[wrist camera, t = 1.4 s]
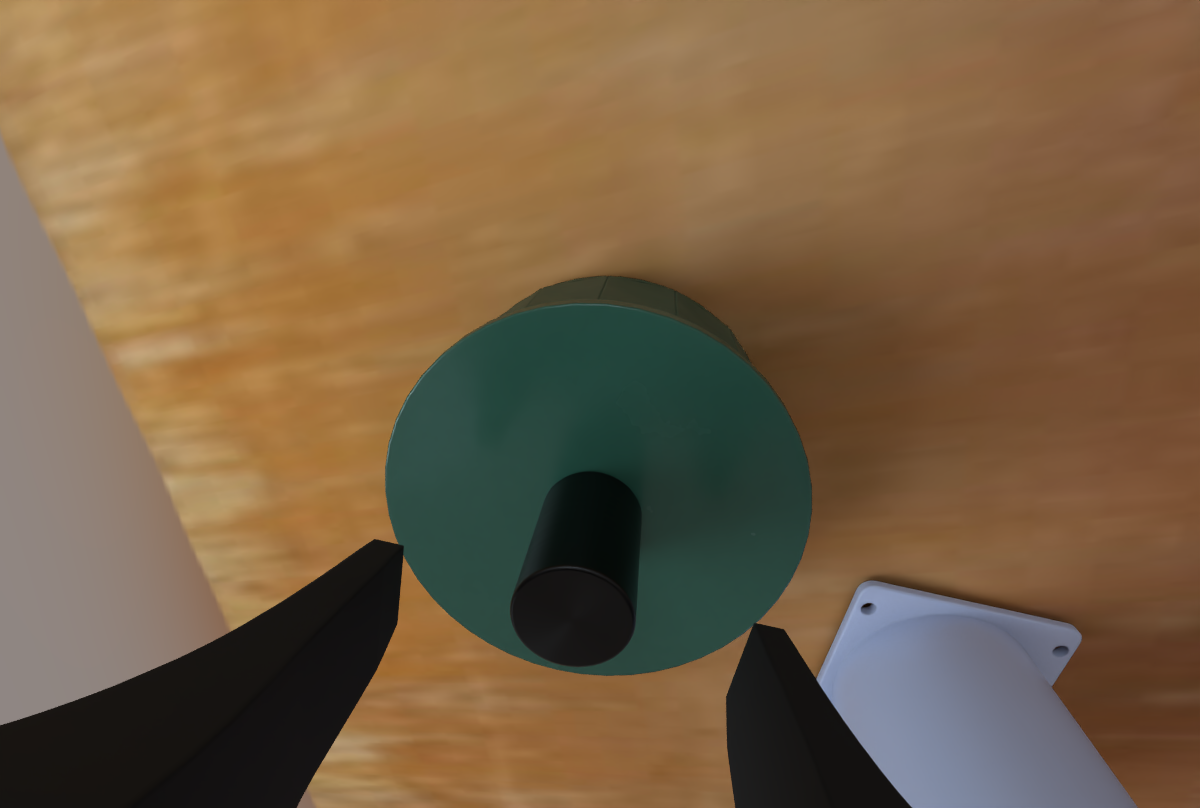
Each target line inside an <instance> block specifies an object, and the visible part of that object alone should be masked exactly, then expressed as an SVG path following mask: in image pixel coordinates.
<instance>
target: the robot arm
mask: <svg viewBox="0 0 1200 808" xmlns="http://www.w3.org/2000/svg"><path fill="white" fill-rule="evenodd" d="M403 552H404V546H403V545H399V544H394V543H390V542H385V541H381V540H376V539H374V540H373V541H371V542H369V543H368V544H366V545H365V546H363V547H362V548H360V549H359V550H358V551H356V552H355V553H353V554H352V555H350V556H349V557H348V558H346V559H345V560H343V561H342V562H341V563H339V564H338V565H336V566H335V567H333V568H332V569H330V570H329V571H328V572H326V573H325V574H323V575H322V576H320V577H319V578H317V579H316V580H314V581H313V582H311V583H310V584H308V585H307V586H305V587H304V588H302V589H301V590H299V591H298V592H296V593H295V594H293V595H291V596H290V597H288V598H287V599H285V600H284V601H282V602H280V603H279V604H277V605H276V606H274V607H272V608H271V609H269V610H267V611H265V612H264V613H262V614H260V615H259V616H257V617H255V618H254V619H252V620H250V621H249V622H247V623H245V624H244V625H242V626H240V627H238V628H237V629H235V630H233V631H231V632H229V633H228V634H226V635H224V636H222V637H220V638H218V639H216V640H214V641H213V642H211V643H209V644H207V645H205V646H203V647H201V648H198V649H196V650H194V651H193V652H190V653H188V654H187V655H184V656H182V657H180V658H178V659H176V660H174V661H171V662H169V663H166V664H164V665H162V666H159V667H157V668H155V669H153V670H150V671H148V672H146V673H143V674H141V675H139V676H136V677H134V678H132V679H129V680H127V681H125V682H122V683H120V684H118V685H115V686H113V687H110V688H108V689H105V690H102V691H100V692H97V693H94V694H92V695H89V696H86V697H84V698H81V699H78V700H76V701H73V702H70V703H67V704H64V705H61V706H58V707H56V708H53V709H50V710H47V711H44V712H41V713H38V714H35V715H32V716H29V717H26V718H23V719H20V720H17V721H13V722H10V723H7V724H3V725H0V808H297V806H298V803H299V802H300V799H301V798H302V796H303V794H304V792H305V791H306V789H307V787H308V785H309V783H310V781H311V780H312V778H313V776H314V774H315V773H316V771H317V769H318V768H319V766H320V764H321V763H322V761H323V759H324V758H325V756H326V754H327V753H328V751H329V749H330V748H331V746H332V744H333V743H334V741H335V739H336V738H337V736H338V734H339V733H340V731H341V729H342V728H343V726H344V724H345V723H346V721H347V719H348V718H349V716H350V714H351V713H352V711H353V709H354V708H355V706H356V704H357V702H358V701H359V699H360V697H361V696H362V694H363V692H364V691H365V689H366V687H367V686H368V684H369V682H370V680H371V679H372V677H373V675H374V674H375V672H376V670H377V668H378V666H379V664H380V661H381V659H382V657H383V655H384V653H385V651H386V648H387V646H388V644H389V641H390V639H391V637H392V635H393V632H394V630H395V628H396V625H397V621H398V610H399V598H400V587H401V575H402V563H403ZM866 603H872V604H871V605H870V606H868V607H862V606H863V605H864V604H866ZM1081 640H1082V636H1081V634H1080V633H1079V631H1078V630H1077V629H1076V628H1075V627H1074V626H1073V625H1071V624H1069V623H1065V622H1060V621H1056V620H1051V619H1047V618H1042V617H1038V616H1033V615H1029V614H1024V613H1020V612H1015V611H1011V610H1006V609H1001V608H997V607H992V606H988V605H983V604H979V603H974V602H970V601H965V600H961V599H956V598H952V597H947V596H943V595H938V594H934V593H929V592H924V591H920V590H915V589H911V588H906V587H902V586H897V585H893V584H888V583H884V582H879V581H872V580H870V581H866V582H863V583H862V584H860V585H859V587H858V588H857V590H856V592H855V594H854V596H853V599H852V601H851V603H850V605H849V608H848V610H847V612H846V614H845V616H844V619H843V621H842V623H841V625H840V628H839V630H838V632H837V634H836V637H835V639H834V641H833V643H832V645H831V648H830V650H829V652H828V654H827V657H826V659H825V661H824V663H823V665H822V668H821V670H820V672H819V674H818V677H817V679H816V678H815V677H814V675H813V674H812V672H811V671H810V669H809V668H808V666H807V664H806V663H805V661H804V660H803V658H802V657H801V655H800V653H799V652H798V650H797V649H796V647H795V646H794V644H793V642H792V641H791V639H790V638H789V636H788V635H787V633H786V632H785V630H784V629H780V628H775V627H771V626H766V625H762V624H757V623H754V625H753V627H752V630H751V632H750V635H749V638H748V640H747V643H746V646H745V648H744V651H743V654H742V656H741V659H740V662H739V664H738V667H737V669H736V672H735V675H734V677H733V680H732V683H731V685H730V688H729V691H728V693H727V696H726V718H727V750H728V758H729V765H730V773H731V780H732V787H733V794H734V801H735V808H1138V807H1137V805H1136V804H1135V803H1134V801H1133V800H1132V798H1131V797H1130V796H1129V794H1128V793H1127V791H1126V790H1125V789H1124V787H1123V786H1122V784H1121V783H1120V782H1119V780H1118V779H1117V778H1116V776H1115V775H1114V773H1113V772H1112V771H1111V769H1110V768H1109V766H1108V765H1107V764H1106V762H1105V761H1104V759H1103V758H1102V757H1101V755H1100V754H1099V752H1098V751H1097V750H1096V748H1095V747H1094V745H1093V744H1092V743H1091V741H1090V740H1089V739H1088V737H1087V736H1086V734H1085V733H1084V732H1083V730H1082V729H1081V727H1080V726H1079V725H1078V723H1077V722H1076V720H1075V719H1074V718H1073V716H1072V715H1071V713H1070V712H1069V711H1068V709H1067V708H1066V706H1065V705H1064V704H1063V702H1062V701H1061V700H1060V698H1059V697H1058V695H1057V694H1056V693H1055V691H1054V690H1053V688H1052V686H1053V684H1054V683H1055V681H1056V680H1057V678H1058V676H1059V675H1060V673H1061V672H1062V670H1063V669H1064V667H1065V666H1066V664H1067V663H1068V661H1069V660H1070V658H1071V657H1072V655H1073V654H1074V652H1075V650H1076V649H1077V647H1078V646H1079V644H1080V643H1081ZM1058 646H1060V647H1059V648H1056V647H1058ZM1055 648H1056V649H1055Z"/></svg>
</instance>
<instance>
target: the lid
mask: <svg viewBox="0 0 1200 808" xmlns="http://www.w3.org/2000/svg"><path fill="white" fill-rule="evenodd" d="M385 486H386V498H387V505H388V511H389V516H390V520H391V523H392V526H393V530H394V533H395V537H396V539H397V541H398V544H399V545H403V546H404V552H403V555H404V557H405V559H406V561H407V562H408V564H409V566H410V567H411V569H412V571H413V572H414V574H415V576H416V577H417V579H418V580H419V581H420V583H421V584H422V585H423V587H424V588H425V589H426V590H427V592H428V593H429V594H430V595H431V597H432V598H433V599H434V600H435V601H436V602H437V603H438V604H439V605H440V606H441V607H442V608H443V609H444V610H445V611H446V612H447V613H448V614H449V615H450V616H451V617H453V618H454V619H455V620H456V621H457V622H459V623H460V624H461V625H462V626H464V627H465V628H466V629H467V630H469V631H470V632H472V633H473V634H475V635H477V636H478V637H480V638H481V639H483V640H484V641H486V642H487V643H489V644H491V645H493V646H495V647H497V648H499V649H501V650H503V651H505V652H507V653H509V654H511V655H513V656H516V657H519V658H521V659H524V660H526V661H529V662H531V663H534V664H538V665H542V666H545V667H549V668H552V669H556V670H561V671H567V672H573V673H579V674H589V675H603V676H614V675H634V674H642V673H649V672H656V671H660V670H664V669H668V668H673V667H677V666H680V665H683V664H686V663H688V662H691V661H694V660H697V659H699V658H702V657H704V656H706V655H708V654H710V653H712V652H714V651H716V650H718V649H720V648H722V647H724V646H725V645H727V644H728V643H730V642H731V641H733V640H735V639H736V638H738V637H739V636H741V635H742V634H743V633H745V632H746V631H747V630H748V629H749V628H751V627H752V626H753V625H754V623H756V622H758V621H759V620H760V619H761V618H762V617H763V616H764V615H765V614H766V613H767V611H768V610H769V609H770V608H771V607H772V606H773V605H774V604H775V603H776V601H777V600H778V599H779V597H780V596H781V594H782V593H783V591H784V590H785V588H786V587H787V585H788V584H789V582H790V581H791V579H792V577H793V575H794V573H795V571H796V569H797V566H798V564H799V562H800V560H801V558H802V554H803V551H804V548H805V545H806V542H807V538H808V535H809V528H810V521H811V515H812V484H811V478H810V472H809V466H808V460H807V457H806V454H805V451H804V448H803V445H802V442H801V439H800V436H799V433H798V431H797V429H796V427H795V425H794V423H793V421H792V419H791V417H790V415H789V413H788V411H787V409H786V407H785V405H784V403H783V402H782V401H781V399H780V398H779V396H778V395H777V393H776V392H775V391H774V389H773V388H772V386H771V385H770V384H769V382H768V381H767V380H766V379H765V378H764V377H763V375H762V374H761V373H760V372H759V371H758V370H757V369H756V368H755V367H754V366H753V365H752V364H751V363H750V362H749V361H748V360H747V359H746V358H745V357H744V356H742V355H741V354H740V353H739V352H737V351H736V350H735V349H734V348H732V347H731V346H730V345H729V344H727V343H726V342H725V341H723V340H722V339H720V338H718V337H717V336H715V335H713V334H712V333H710V332H708V331H707V330H705V329H703V328H702V327H700V326H698V325H696V324H694V323H692V322H689V321H687V320H685V319H682V318H680V317H678V316H675V315H673V314H671V313H668V312H664V311H661V310H657V309H654V308H650V307H647V306H643V305H640V304H634V303H627V302H620V301H614V300H599V299H573V300H564V301H556V302H547V303H543V304H539V305H535V306H531V307H527V308H523V309H519V310H516V311H513V312H511V313H508V314H506V315H503V316H501V317H498V318H496V319H493V320H491V321H489V322H487V323H486V324H484V325H482V326H480V327H479V328H477V329H475V330H474V331H472V332H470V333H468V334H467V335H465V336H464V337H463V338H461V339H460V340H459V341H458V342H456V343H455V344H454V345H453V346H451V347H450V348H449V349H447V350H446V351H445V352H444V353H443V354H442V355H441V356H440V357H439V358H438V359H437V360H436V361H435V362H434V363H433V364H432V365H431V366H430V367H429V368H428V369H427V370H426V372H425V373H424V374H423V375H422V376H421V377H420V379H419V380H418V382H417V383H416V385H415V386H414V387H413V389H412V390H411V392H410V393H409V395H408V396H407V398H406V400H405V402H404V404H403V406H402V408H401V410H400V412H399V414H398V416H397V419H396V421H395V425H394V428H393V431H392V434H391V438H390V441H389V445H388V452H387V459H386V466H385Z"/></svg>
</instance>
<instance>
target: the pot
mask: <svg viewBox="0 0 1200 808" xmlns="http://www.w3.org/2000/svg"><path fill="white" fill-rule="evenodd" d="M573 299H599V300H614V301H620V302H627V303H634V304H640V305H643V306H647V307H650V308H654V309H657V310H661V311H664V312H668V313H671V314H673V315H675V316H678V317H680V318H682V319H685V320H687V321H689V322H692V323H694V324H696V325H698V326H700V327H702V328H703V329H705V330H707V331H708V332H710V333H712V334H713V335H715V336H717V337H718V338H720V339H722V340H723V341H725V342H726V343H727V344H729V345H730V346H731V347H732V348H734V349H735V350H736V351H737V352H739V353H740V354H741V355H742V356H744V357H745V358H746V359H747V360H748V361H749V362H750V360H749V358H748V356H747V354H746V352H745V351H744V349H743V348H742V347H741V345H740V344H739V342H738V341H737V339H736V337H735V336H734V334H733V332H732V331H731V330H730V329H729V328H728V326H726V325H725V324H723V323H722V322H721V321H720V320H719V319H718V318H716V317H715V316H714V315H713V314H711V313H710V312H709V311H708V310H706V309H705V308H704V307H703V306H701V305H700V304H698V303H696V302H695V301H693V300H691V299H690V298H688V297H686V296H685V295H683V294H681V293H679V292H678V291H674V290H673V289H669V288H667V287H665V286H662V285H658V284H655V283H651V282H648V281H644V280H640V279H633V278H627V277H616V276H596V277H587V278H579V279H574V280H570V281H566V282H562V283H558V284H555V285H552V286H547V287H544V288H543V289H539V290H538V291H536V292H535V293H533V294H532V295H530V296H529V297H527V298H525V299H523V300H522V301H520V302H518V303H517V304H516V305H514V306H513V307H512V308H511V309H509V310H508V311H507V312H505V313H504V314H502V315H501V316H503V315H506V314H508V313H511V312H513V311H516V310H519V309H523V308H527V307H531V306H535V305H539V304H543V303H547V302H556V301H564V300H573ZM501 316H499V317H501ZM750 363H751V362H750Z"/></svg>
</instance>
